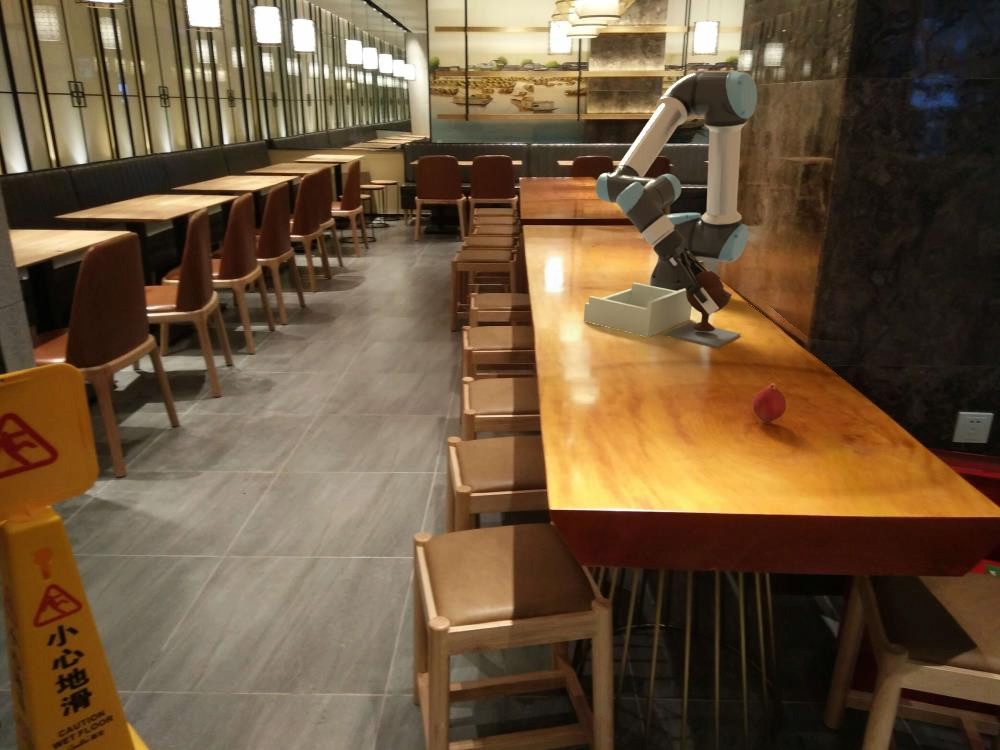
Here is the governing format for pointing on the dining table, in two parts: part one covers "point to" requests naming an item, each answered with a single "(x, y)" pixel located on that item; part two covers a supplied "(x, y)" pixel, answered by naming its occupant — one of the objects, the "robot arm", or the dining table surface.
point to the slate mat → (703, 335)
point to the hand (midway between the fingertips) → (718, 306)
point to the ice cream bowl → (716, 293)
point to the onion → (769, 404)
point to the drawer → (639, 309)
